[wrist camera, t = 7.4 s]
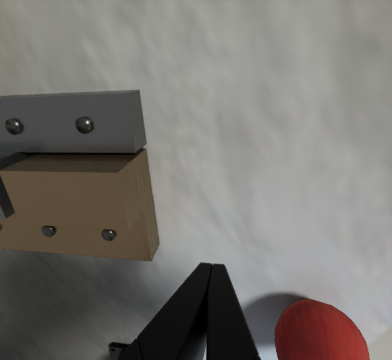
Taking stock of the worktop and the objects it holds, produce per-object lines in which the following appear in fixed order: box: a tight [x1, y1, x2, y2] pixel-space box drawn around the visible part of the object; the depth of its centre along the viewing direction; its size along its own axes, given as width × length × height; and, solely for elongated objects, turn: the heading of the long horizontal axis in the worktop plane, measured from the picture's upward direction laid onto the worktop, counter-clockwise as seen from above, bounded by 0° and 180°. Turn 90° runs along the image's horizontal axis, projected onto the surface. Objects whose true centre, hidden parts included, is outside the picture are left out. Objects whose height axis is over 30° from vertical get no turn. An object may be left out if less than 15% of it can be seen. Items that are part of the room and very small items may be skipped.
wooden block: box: [0, 148, 159, 261], centre depth 19 cm, size 8×16×4 cm, turn 93°
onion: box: [275, 299, 370, 360], centre depth 17 cm, size 6×6×8 cm
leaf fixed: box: [0, 90, 147, 219], centre depth 17 cm, size 7×17×4 cm, turn 93°
